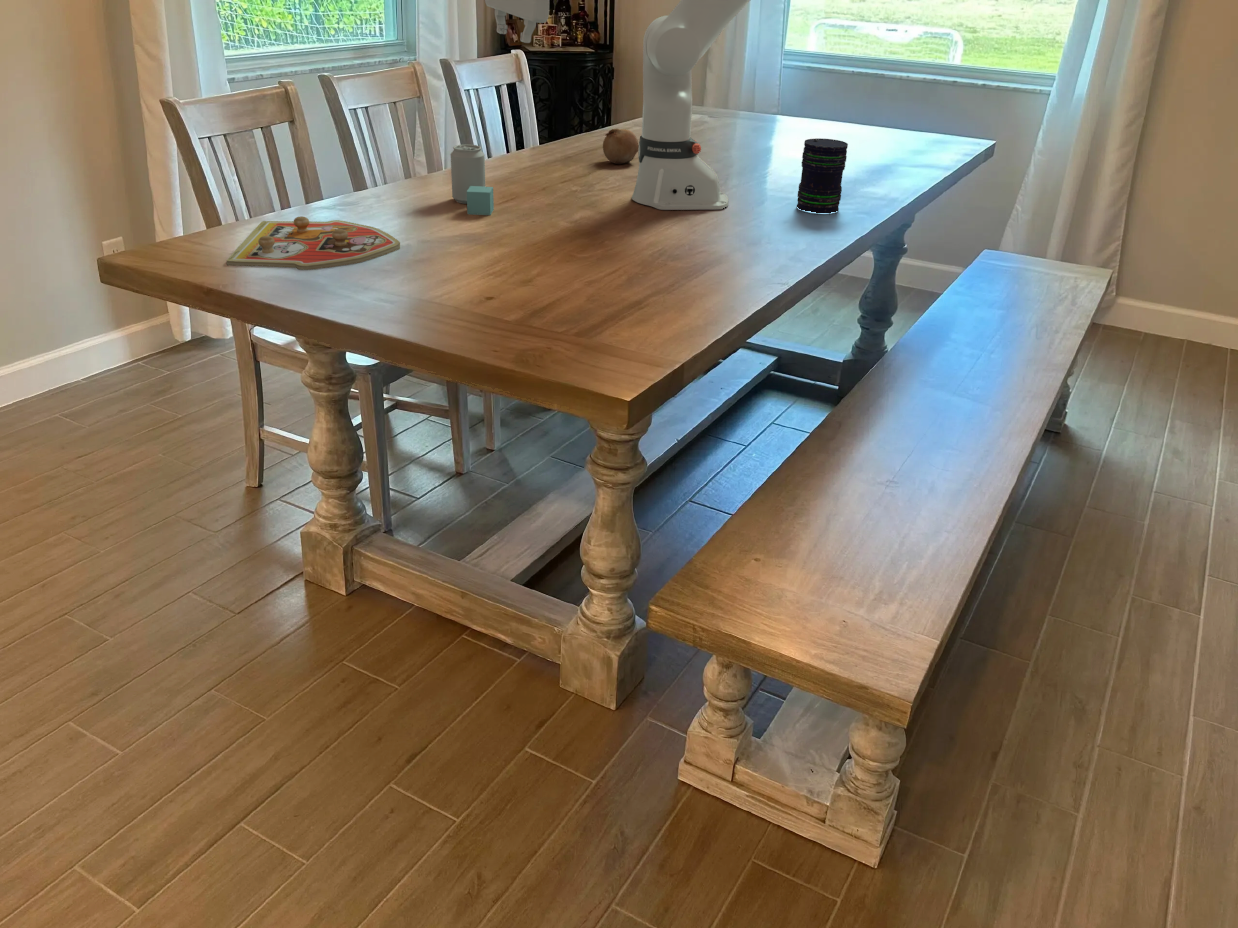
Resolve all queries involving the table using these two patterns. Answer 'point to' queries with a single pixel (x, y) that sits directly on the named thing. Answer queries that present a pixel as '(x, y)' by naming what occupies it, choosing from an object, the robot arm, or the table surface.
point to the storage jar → (822, 175)
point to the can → (466, 170)
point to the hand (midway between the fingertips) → (513, 37)
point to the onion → (620, 146)
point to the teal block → (480, 200)
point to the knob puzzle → (312, 244)
